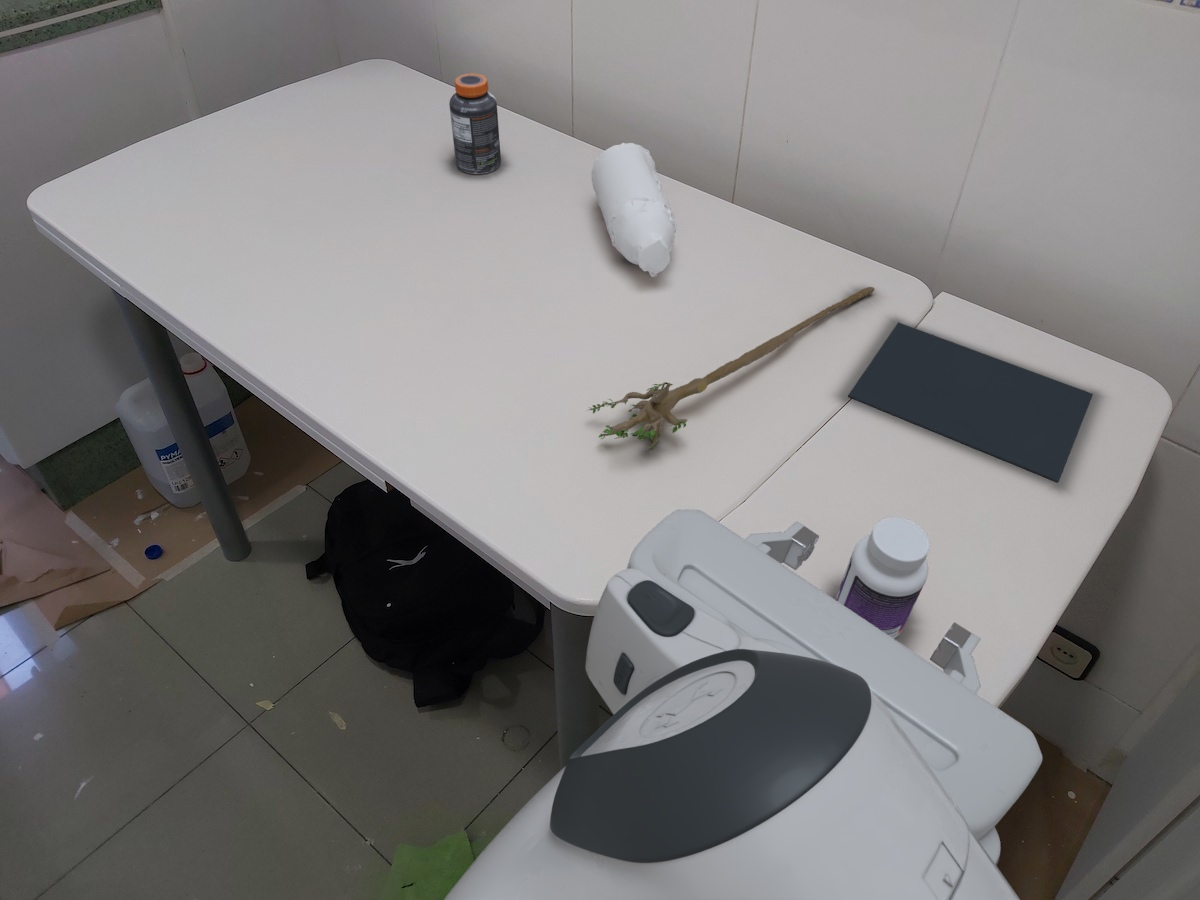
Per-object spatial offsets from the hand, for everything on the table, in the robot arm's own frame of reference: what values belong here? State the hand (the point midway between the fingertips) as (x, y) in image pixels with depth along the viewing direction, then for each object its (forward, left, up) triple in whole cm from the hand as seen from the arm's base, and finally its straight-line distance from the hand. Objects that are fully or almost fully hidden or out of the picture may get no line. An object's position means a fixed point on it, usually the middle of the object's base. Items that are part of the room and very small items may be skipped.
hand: (880, 585), depth 47 cm
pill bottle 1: (+70, -51, -20) cm, 88 cm away
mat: (+2, -43, -19) cm, 47 cm away
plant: (+21, -34, -20) cm, 44 cm away
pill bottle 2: (+1, -13, -20) cm, 23 cm away
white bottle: (+43, -48, -20) cm, 67 cm away
